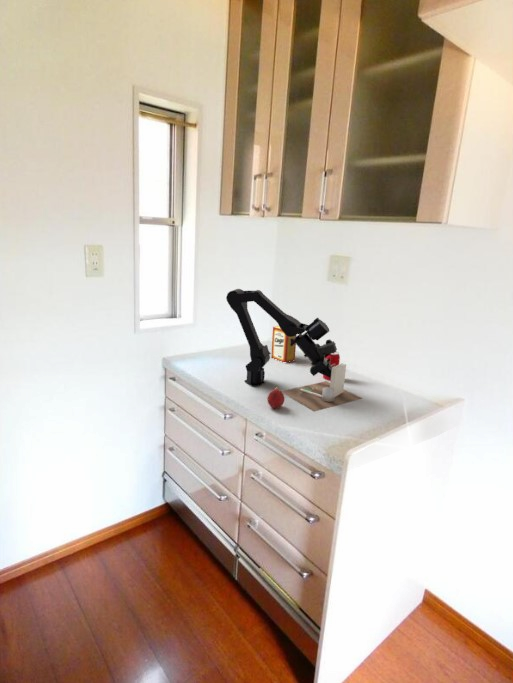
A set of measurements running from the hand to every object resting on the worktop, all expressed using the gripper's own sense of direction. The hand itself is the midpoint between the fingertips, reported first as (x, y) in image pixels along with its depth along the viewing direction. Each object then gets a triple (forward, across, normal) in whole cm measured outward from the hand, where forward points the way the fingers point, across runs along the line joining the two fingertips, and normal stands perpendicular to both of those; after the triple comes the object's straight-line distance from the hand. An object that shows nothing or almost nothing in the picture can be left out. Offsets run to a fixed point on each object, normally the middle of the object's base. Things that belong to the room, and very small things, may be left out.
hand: (335, 378), depth 156 cm
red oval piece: (-8, -20, +18) cm, 28 cm away
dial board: (+2, -3, +8) cm, 9 cm away
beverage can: (+3, +17, +7) cm, 19 cm away
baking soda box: (-15, +36, +25) cm, 46 cm away
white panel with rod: (+1, -1, +7) cm, 8 cm away
